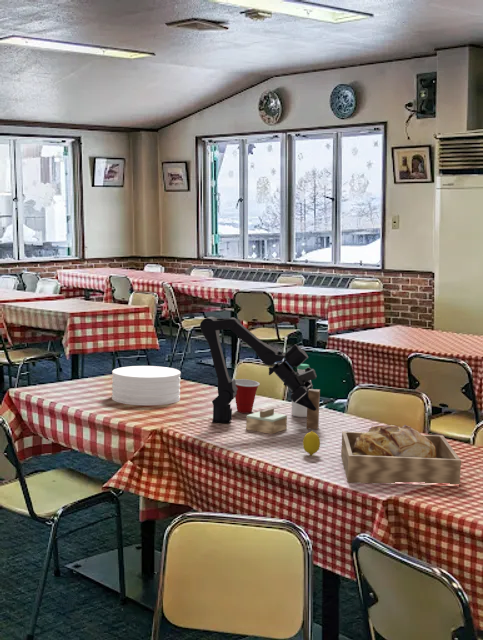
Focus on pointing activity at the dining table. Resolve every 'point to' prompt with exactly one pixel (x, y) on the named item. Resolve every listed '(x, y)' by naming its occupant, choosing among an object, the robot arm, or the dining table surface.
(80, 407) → the dining table surface
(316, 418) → the tan rectangular bar
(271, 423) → the open wooden box
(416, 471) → the bread crate
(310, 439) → the lemon
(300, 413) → the milk bottle
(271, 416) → the lid
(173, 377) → the plate stack
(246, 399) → the plastic cup
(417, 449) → the bread
